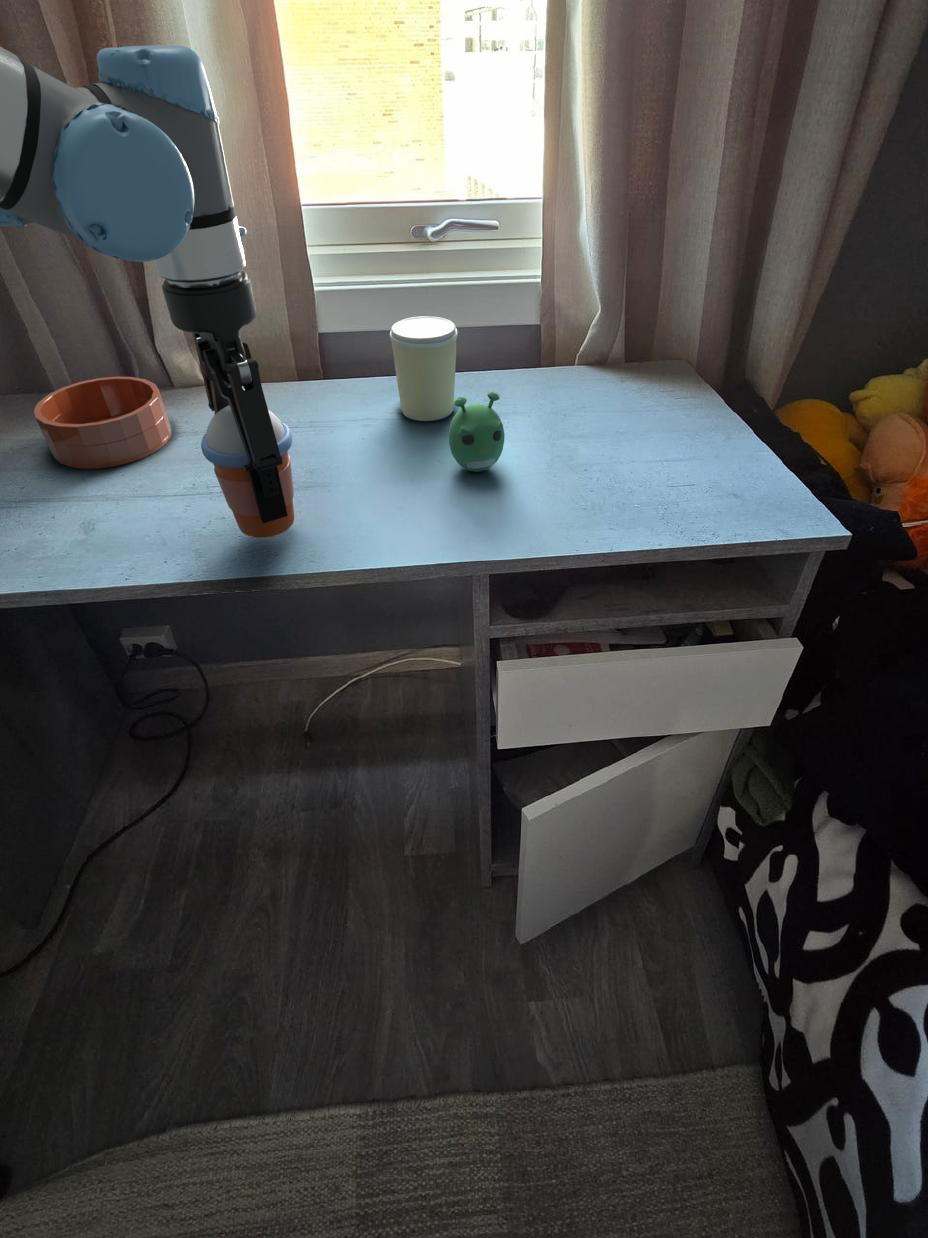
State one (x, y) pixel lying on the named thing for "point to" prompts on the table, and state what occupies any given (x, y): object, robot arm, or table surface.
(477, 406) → the alien toy
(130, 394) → the bowl
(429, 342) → the coffee cup
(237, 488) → the cup with straw
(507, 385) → the table surface
